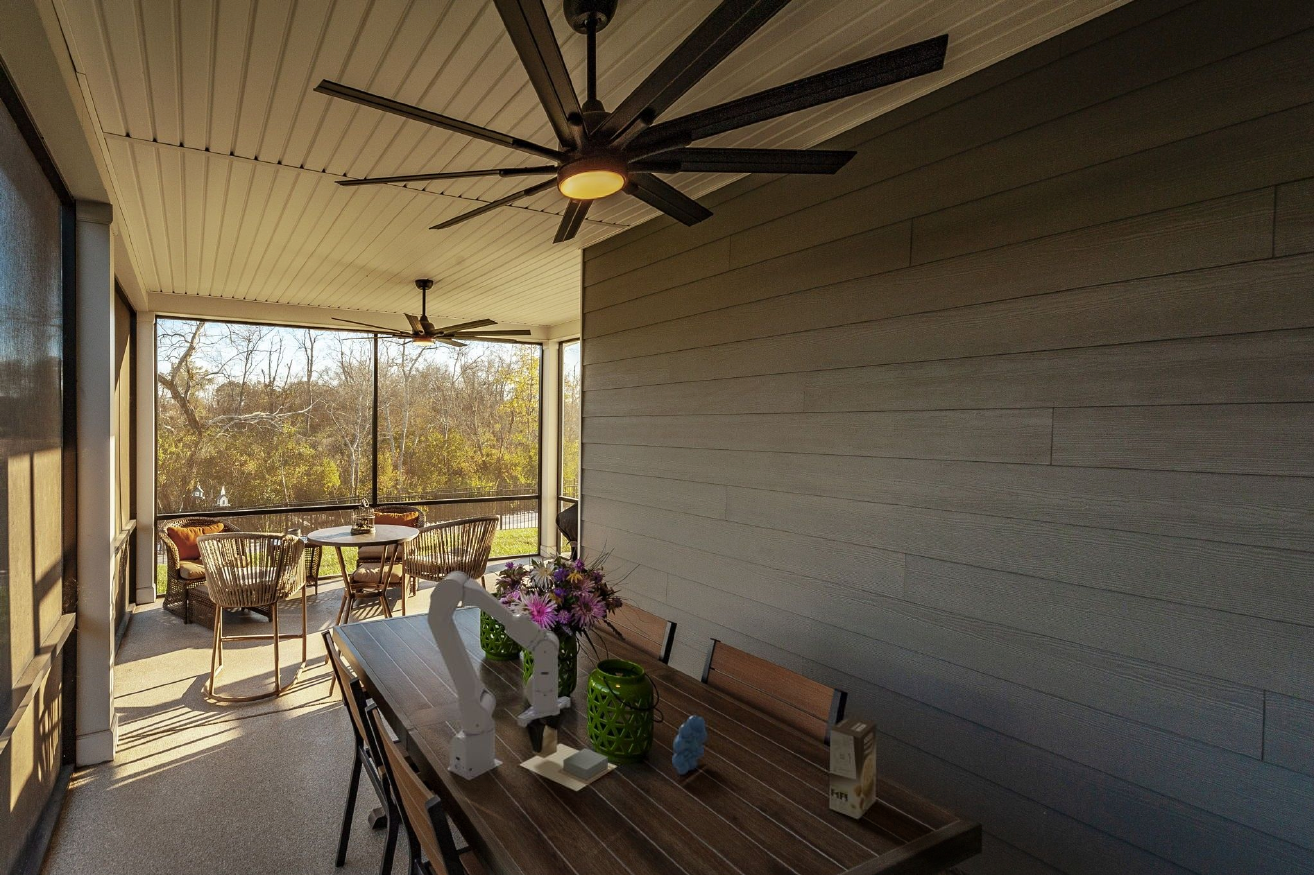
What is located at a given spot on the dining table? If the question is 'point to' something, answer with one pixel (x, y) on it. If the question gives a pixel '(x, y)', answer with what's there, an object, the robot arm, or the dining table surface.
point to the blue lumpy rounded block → (689, 744)
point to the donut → (529, 689)
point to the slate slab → (585, 764)
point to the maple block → (548, 743)
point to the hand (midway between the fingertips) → (544, 747)
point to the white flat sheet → (560, 768)
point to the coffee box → (852, 766)
